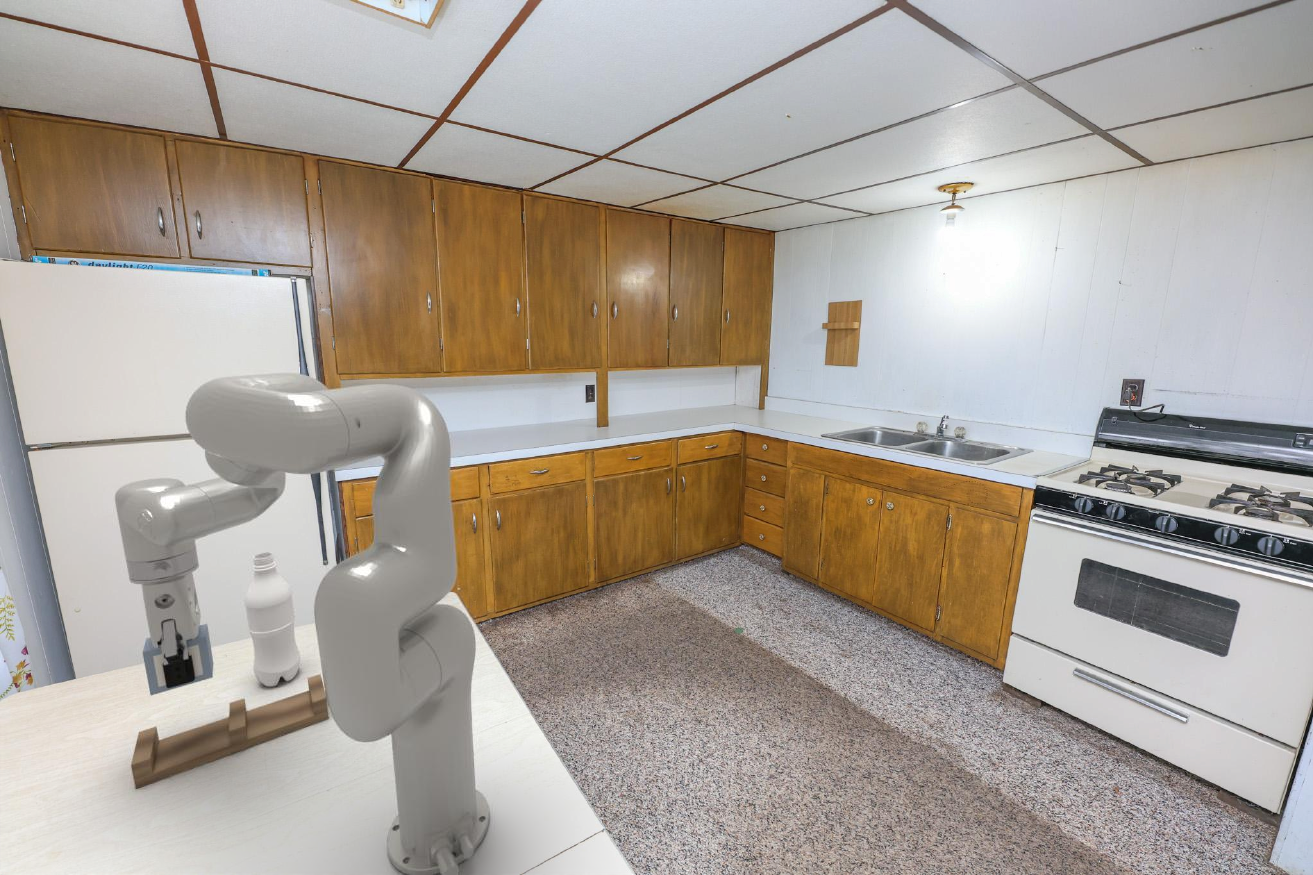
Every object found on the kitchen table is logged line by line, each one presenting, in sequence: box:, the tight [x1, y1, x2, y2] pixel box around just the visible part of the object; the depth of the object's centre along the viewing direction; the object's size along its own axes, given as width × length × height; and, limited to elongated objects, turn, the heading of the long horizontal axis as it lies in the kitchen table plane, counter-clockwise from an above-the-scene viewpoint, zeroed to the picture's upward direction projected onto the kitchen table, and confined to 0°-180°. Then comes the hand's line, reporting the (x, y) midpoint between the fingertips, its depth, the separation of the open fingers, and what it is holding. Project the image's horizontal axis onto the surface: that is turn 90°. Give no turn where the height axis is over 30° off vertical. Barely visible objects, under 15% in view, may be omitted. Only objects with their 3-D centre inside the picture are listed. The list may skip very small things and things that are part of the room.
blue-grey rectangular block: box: [142, 623, 214, 696], centre depth 81 cm, size 4×7×7 cm, turn 128°
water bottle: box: [244, 551, 301, 687], centre depth 99 cm, size 7×7×25 cm
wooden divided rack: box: [130, 673, 330, 789], centre depth 87 cm, size 8×24×4 cm, turn 128°
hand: (182, 673), depth 81 cm, fingers closed on blue-grey rectangular block, 4 cm apart
